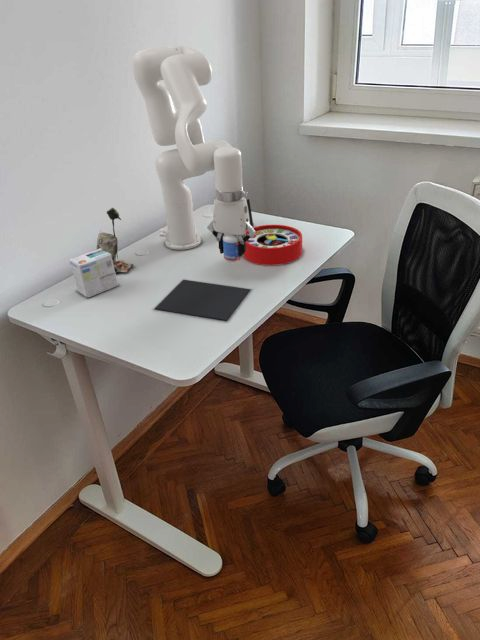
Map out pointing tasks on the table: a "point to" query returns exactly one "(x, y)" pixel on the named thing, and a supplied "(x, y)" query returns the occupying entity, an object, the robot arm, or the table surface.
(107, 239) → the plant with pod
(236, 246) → the pill bottle
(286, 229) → the toy clock
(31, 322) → the table surface
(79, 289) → the light bulb box
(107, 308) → the table surface
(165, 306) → the desk mat
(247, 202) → the speaker
